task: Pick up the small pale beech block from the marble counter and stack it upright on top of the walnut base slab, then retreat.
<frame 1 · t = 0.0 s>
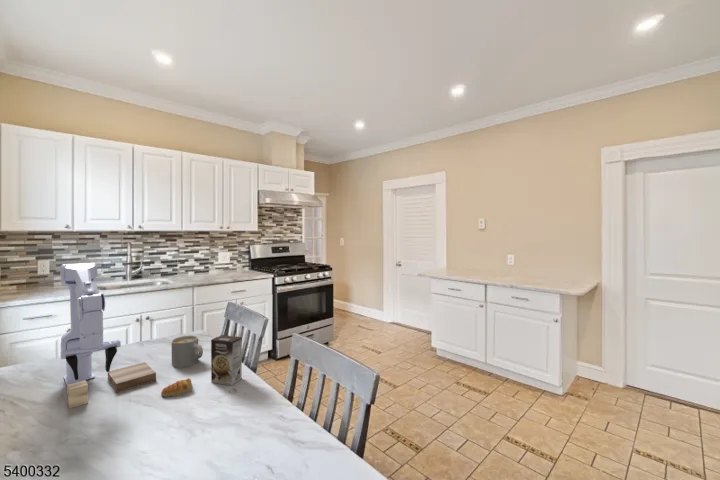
hand: (92, 374, 102), 10 cm above the table, fingers open, 7 cm apart
beech block: (77, 403, 105), on the table
pastry: (179, 392, 112), on the table
walnut base: (131, 380, 120), on the table
coffee mug: (187, 363, 136), on the table
coffee box: (226, 381, 121), on the table
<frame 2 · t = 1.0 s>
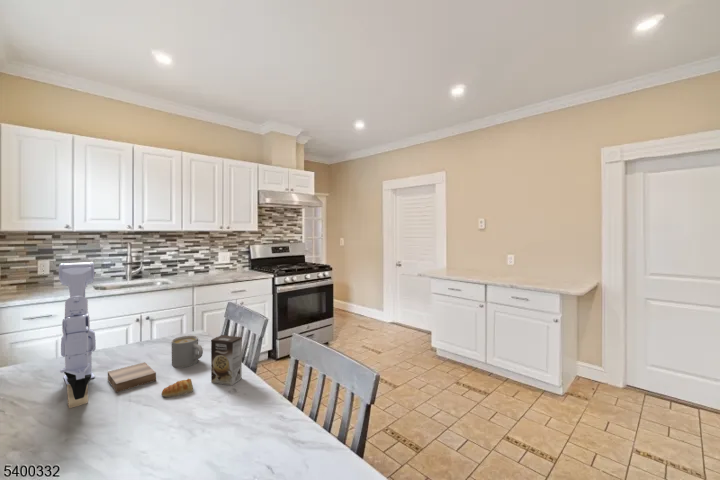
hand: (77, 394, 104), 3 cm above the table, fingers open, 7 cm apart
nothing on the table moved.
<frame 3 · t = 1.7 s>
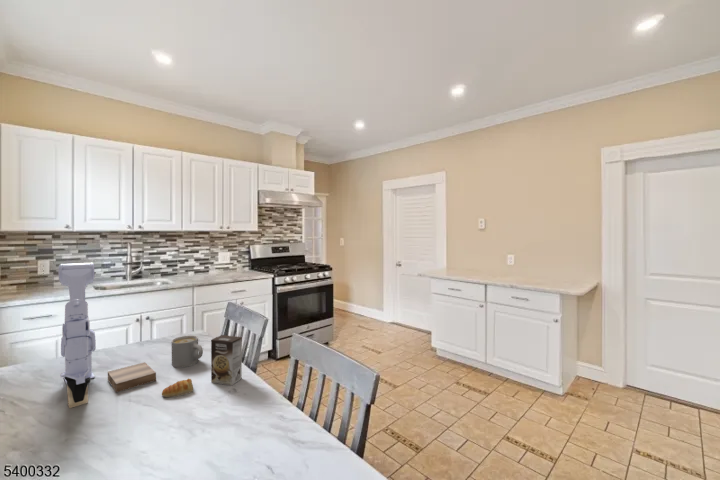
hand: (77, 398, 104), 1 cm above the table, fingers closed on beech block, 4 cm apart
beech block: (77, 402, 105), on the table, touching gripper
everything else where it was.
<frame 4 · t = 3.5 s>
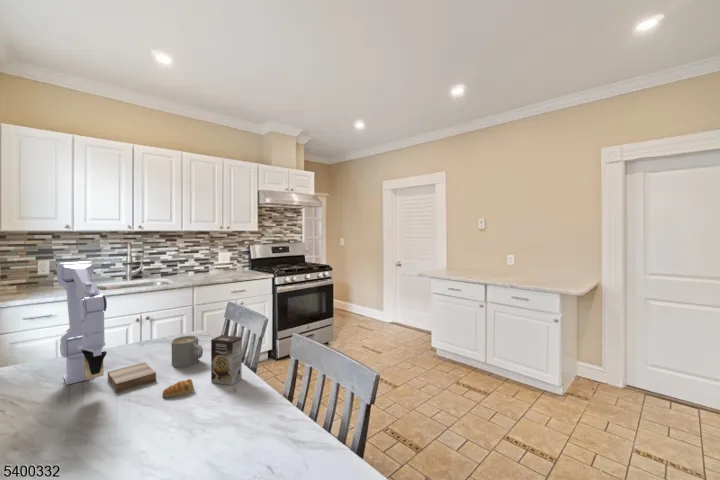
hand: (94, 371, 109), 8 cm above the table, fingers closed on beech block, 4 cm apart
beech block: (93, 375, 109), point 7 cm above the table, touching gripper
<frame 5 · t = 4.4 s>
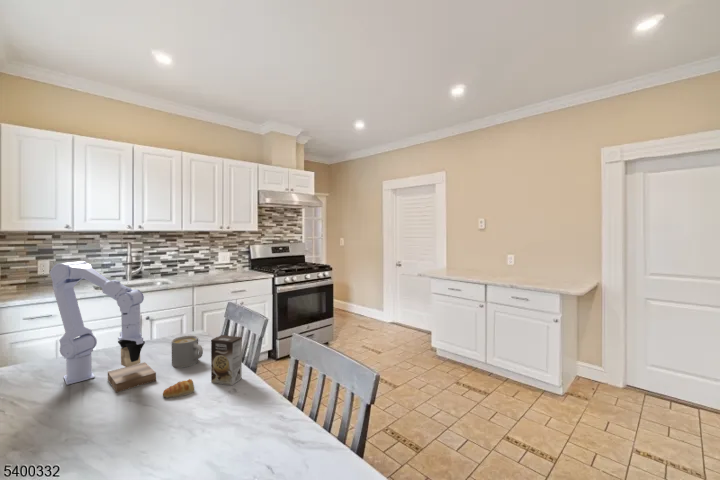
hand: (131, 359, 120), 8 cm above the table, fingers closed on beech block, 4 cm apart
beech block: (130, 363, 120), point 6 cm above the table, touching gripper
when the fingers open (5 cm above the table, at t = 5.2 s): beech block stays where it is, resting on walnut base.
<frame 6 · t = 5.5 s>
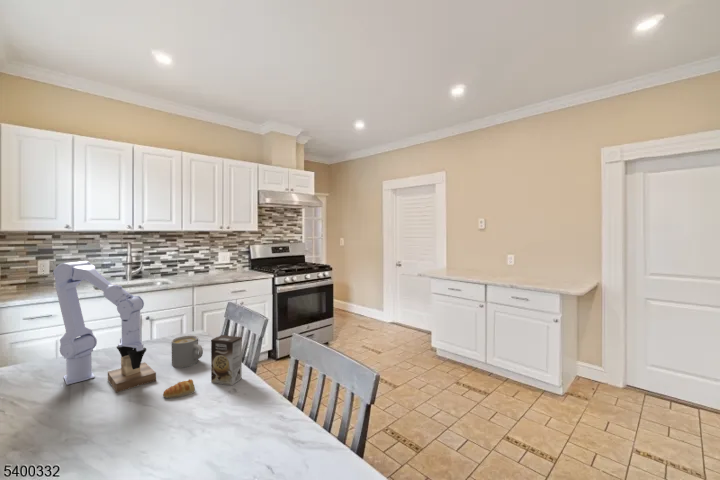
hand: (131, 365, 120), 5 cm above the table, fingers open, 7 cm apart
beech block: (130, 372, 120), point 3 cm above the table, touching walnut base
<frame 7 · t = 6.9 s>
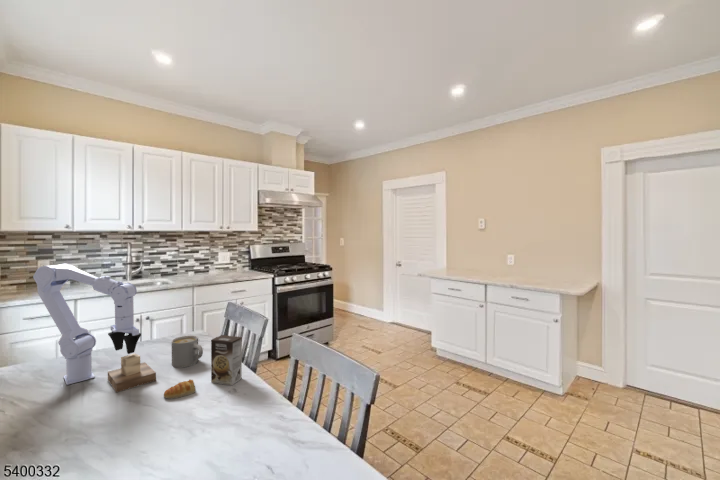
hand: (124, 351, 123), 10 cm above the table, fingers open, 7 cm apart
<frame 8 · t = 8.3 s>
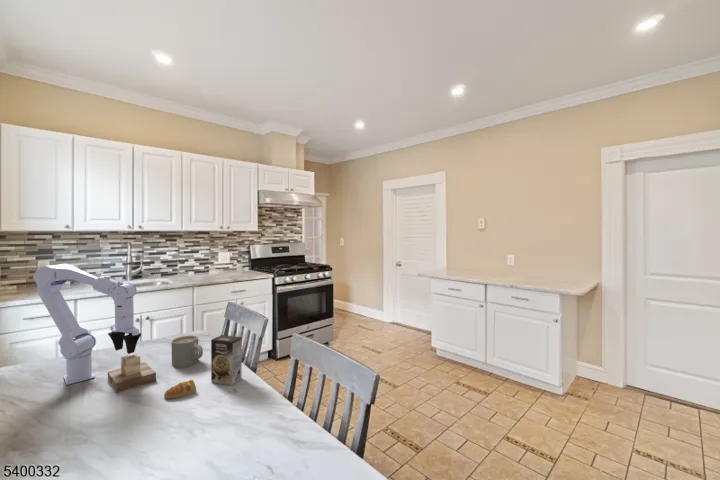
hand: (124, 351, 123), 10 cm above the table, fingers open, 7 cm apart
at the end: beech block inside the target area on the walnut base (0.3 cm from its centre), point 3.0 cm above the walnut base's base; beech block tilted 0°; beech block touching walnut base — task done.
